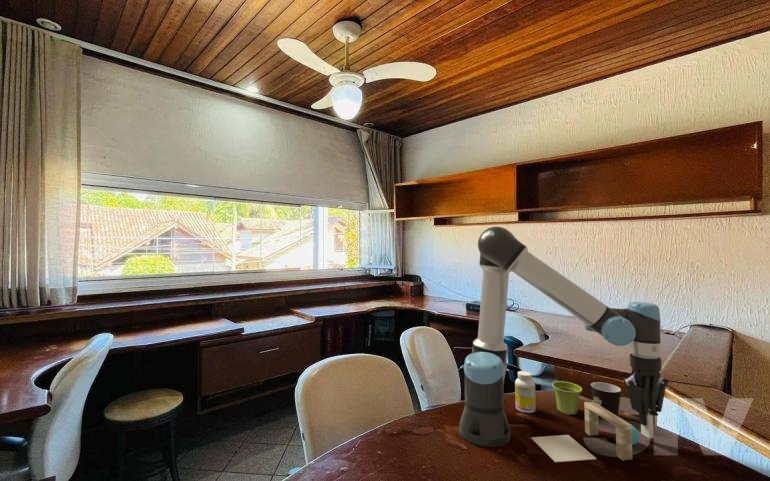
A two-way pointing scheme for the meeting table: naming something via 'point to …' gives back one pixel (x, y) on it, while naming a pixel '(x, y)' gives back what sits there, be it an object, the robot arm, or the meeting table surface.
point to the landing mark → (562, 448)
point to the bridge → (621, 426)
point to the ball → (635, 436)
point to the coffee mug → (606, 396)
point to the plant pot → (567, 396)
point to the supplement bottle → (525, 392)
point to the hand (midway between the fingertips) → (647, 435)
